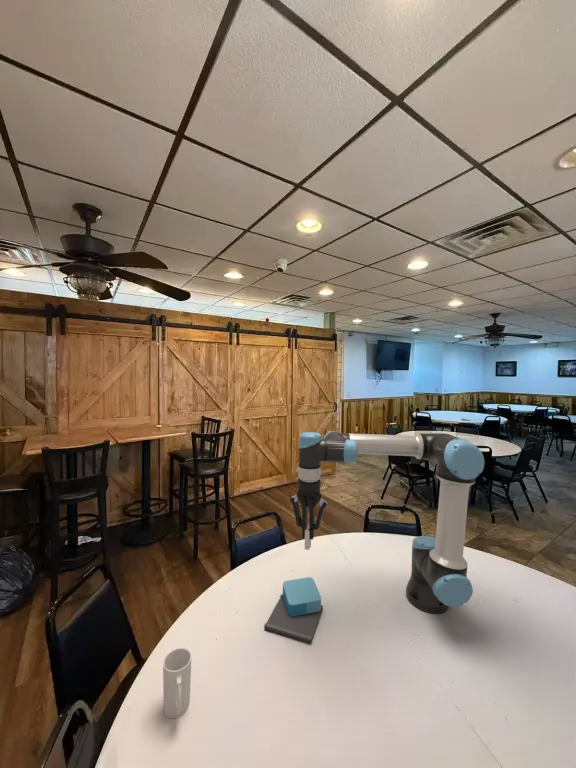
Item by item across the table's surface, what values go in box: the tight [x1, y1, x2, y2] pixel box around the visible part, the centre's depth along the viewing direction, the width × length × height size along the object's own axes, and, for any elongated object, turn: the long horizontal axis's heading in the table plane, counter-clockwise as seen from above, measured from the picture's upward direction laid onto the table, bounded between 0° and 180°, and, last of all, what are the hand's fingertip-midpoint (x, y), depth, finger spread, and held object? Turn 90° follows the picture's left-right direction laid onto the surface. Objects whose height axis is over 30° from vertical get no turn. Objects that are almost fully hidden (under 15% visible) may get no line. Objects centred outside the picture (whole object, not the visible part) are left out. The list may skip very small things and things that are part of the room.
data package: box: [282, 576, 322, 616], centre depth 117 cm, size 12×4×12 cm
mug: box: [162, 647, 192, 719], centre depth 79 cm, size 10×7×12 cm, turn 23°
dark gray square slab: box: [263, 593, 324, 646], centre depth 110 cm, size 16×16×2 cm
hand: (307, 547), depth 108 cm, fingers closed
